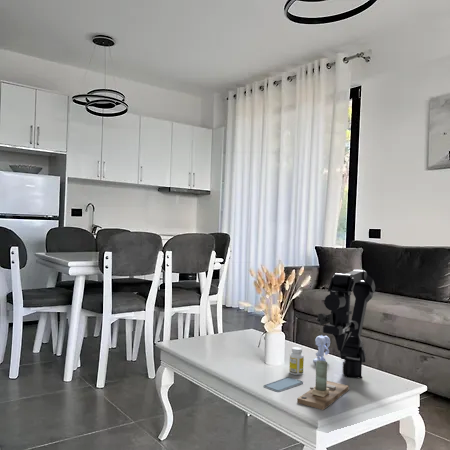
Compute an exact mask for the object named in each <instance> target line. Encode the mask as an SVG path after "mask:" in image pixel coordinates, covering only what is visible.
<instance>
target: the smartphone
mask: <svg viewBox="0 0 450 450" xmlns="http://www.w3.org/2000/svg"><path fill="white" fill-rule="evenodd" d="M303 384H304V381H303V380H299V379H297V378H293V377H290V376H287V377H283V378H280V379H278V380H275V381H272V382H269V383H267V384H264V385H263V389H267V390H270V391H272V392H277V393H280V392H283V391H287V390H289V389H292V388H295V387H298V386H301V385H303Z"/></svg>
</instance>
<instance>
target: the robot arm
mask: <svg viewBox="0 0 450 450" xmlns="http://www.w3.org/2000/svg"><path fill="white" fill-rule="evenodd" d="M375 291H376V284H375V281H374V278H372V277H371V276H370V275H368V272H367V271H366V270H364V269H353V270H352V271H349V272H346V273H340V272H339V273H337V272H335V273H334V274H333V276H332V277H331V279H330V283H329V286H328V289H327V292H329V294H327V295H326V296H325V297H324V301H323V303H324V306H325V308H326V309H327V310H328V311H330V313H329V314H325V313H324V312H322V313H318V314H317V319H316V322H318V323H319V325H320V326H322V333H323V334H329V335H332V336H334V340H335V344H336V347H337V350H338V351H339V353H340V354H339V355H340V360H344V361H343V362H342V370H341V371H342V375H344V377H345V378H350V379H351V378H352V379H363V376H362V371H363V370H362V369H363V368H362V366H363V363H366V360H367V353H366V351H365V349H364V343H363V340H362V338H361V336H362V331H363V325H364V321H365V316H366V309H367V305H368V302H369V301H370V300H372V298H373V295H374V293H375ZM352 293H353V296H354V298H355V300H354V306H353V308H352V309H353V310H351V295H352ZM350 315H351V319H350ZM323 325H324V326H323Z"/></svg>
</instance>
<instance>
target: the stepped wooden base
mask: <svg viewBox="0 0 450 450" xmlns="http://www.w3.org/2000/svg"><path fill="white" fill-rule="evenodd" d="M313 388H315V386H314V387H313ZM326 388H329V393H328V394H327V395H325V396H324V397H321V396H318V395H314V394H312V390H311V389H309V390H308V391H306V392H304V393H303V394H302V395H299V396H298V398H297V400H296V401H297V402H296V403H297V404H298V405H299V404H300V405H304V406H307V407H311V408H314V409H319V410H322V411H324V410H325V409H327V408H328V407H329V406H330V405H332V404H333V403H334V402H336V401H337V400H339V398H341V397H342V396H343V395H344V394H346V393H347V392H348V391H349V390H350V385H347V384H344V383H338V382H335V381H334V382H333V381H330V380H327V385H326ZM340 396H341V397H340Z"/></svg>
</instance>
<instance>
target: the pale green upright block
mask: <svg viewBox="0 0 450 450" xmlns="http://www.w3.org/2000/svg"><path fill="white" fill-rule="evenodd" d="M315 363H316V364H315V386H314V387H315V388H314V387H311V386H310V387H309V390H312V394H314V395H318V396H321V397H324V396H325V395H327V394H328V393H329V388H326V385H327V381H328V379H327V377H328V361H327V360H326V361H316V362H315Z"/></svg>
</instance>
